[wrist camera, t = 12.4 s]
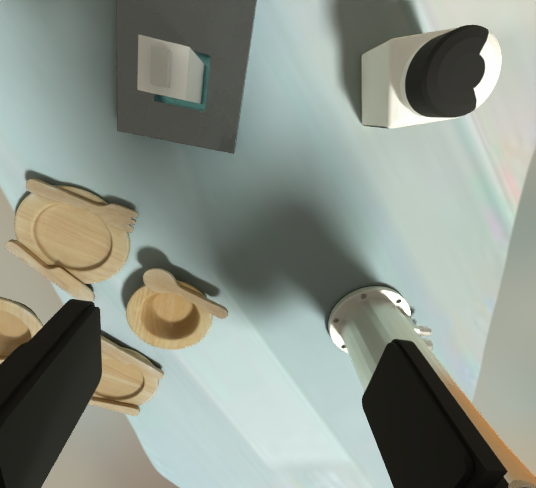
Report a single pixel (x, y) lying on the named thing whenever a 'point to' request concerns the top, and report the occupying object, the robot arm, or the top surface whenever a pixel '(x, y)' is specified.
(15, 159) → the top surface
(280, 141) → the top surface
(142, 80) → the plug
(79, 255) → the tableware set
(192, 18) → the panel
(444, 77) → the medicine bottle
